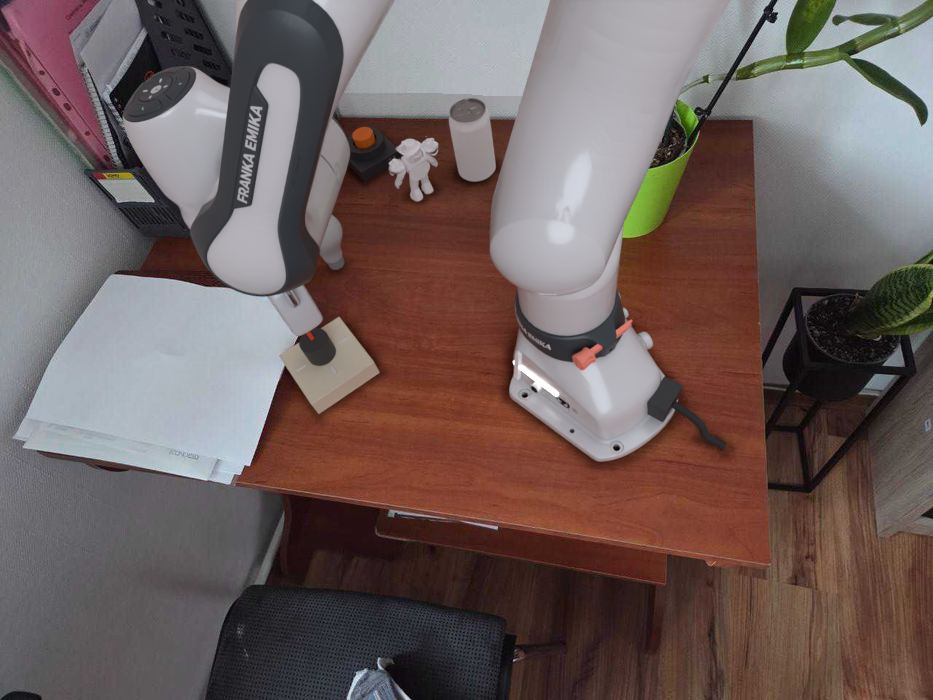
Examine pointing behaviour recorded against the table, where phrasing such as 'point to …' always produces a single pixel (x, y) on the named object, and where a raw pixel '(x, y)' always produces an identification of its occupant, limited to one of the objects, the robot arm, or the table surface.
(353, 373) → the timer panel
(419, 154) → the white figurine
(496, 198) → the robot arm
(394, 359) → the table surface
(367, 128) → the power button
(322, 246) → the lightbulb
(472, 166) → the can
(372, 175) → the black button housing
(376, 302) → the table surface
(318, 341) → the timer knob
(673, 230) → the table surface
